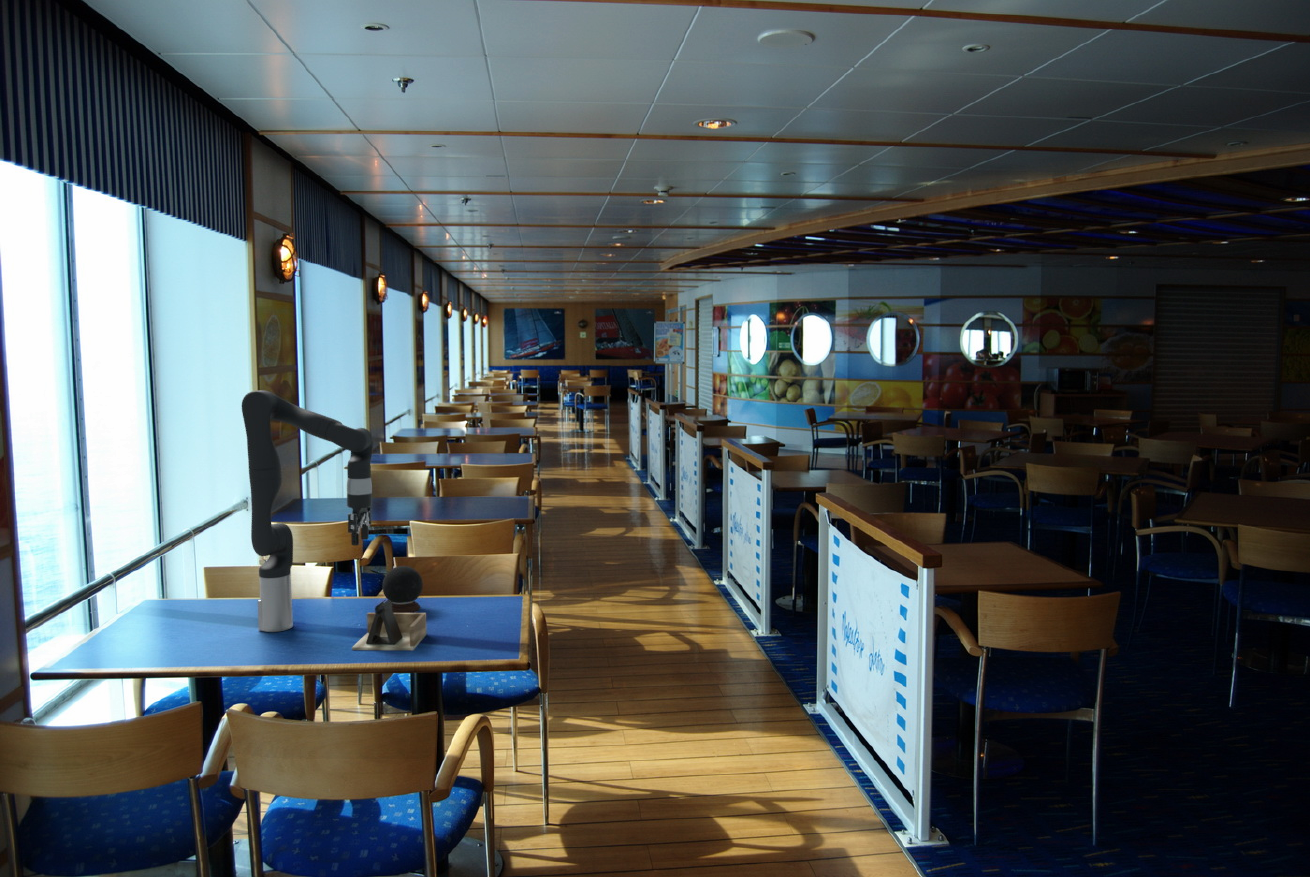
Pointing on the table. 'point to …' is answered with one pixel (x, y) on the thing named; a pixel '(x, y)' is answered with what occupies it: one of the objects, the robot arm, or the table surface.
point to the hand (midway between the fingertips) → (360, 542)
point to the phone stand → (393, 632)
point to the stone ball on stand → (403, 589)
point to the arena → (409, 627)
